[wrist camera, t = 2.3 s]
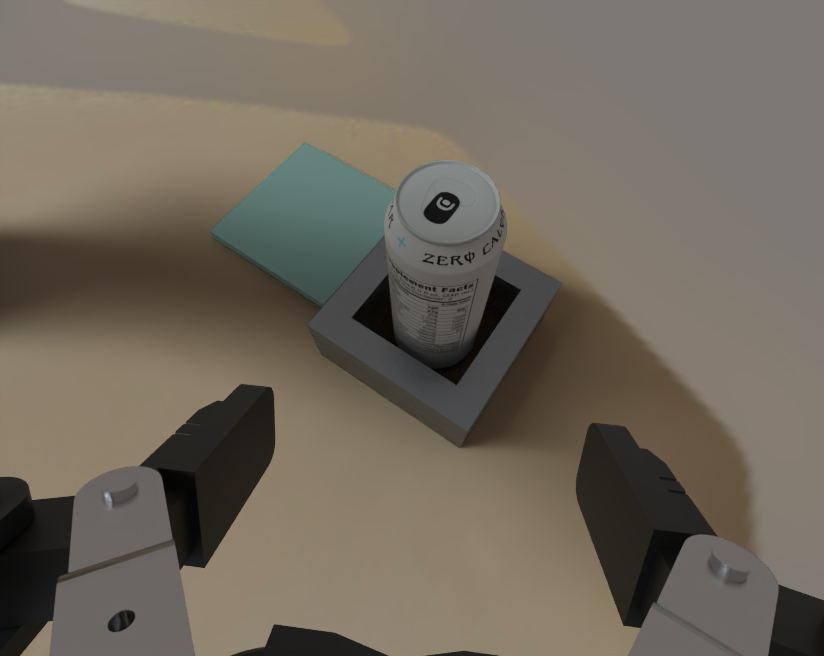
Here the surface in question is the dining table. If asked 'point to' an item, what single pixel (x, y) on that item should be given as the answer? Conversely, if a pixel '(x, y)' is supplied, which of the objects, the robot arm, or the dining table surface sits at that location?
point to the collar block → (407, 377)
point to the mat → (309, 222)
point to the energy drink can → (442, 258)
